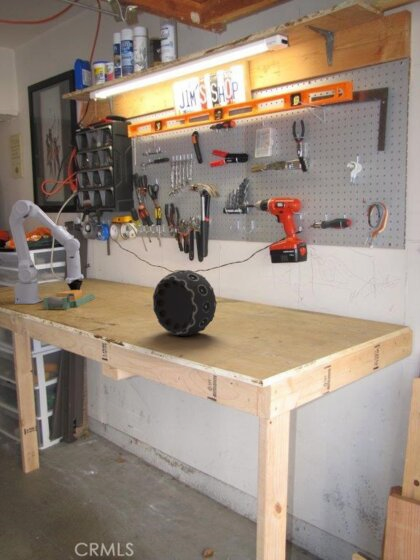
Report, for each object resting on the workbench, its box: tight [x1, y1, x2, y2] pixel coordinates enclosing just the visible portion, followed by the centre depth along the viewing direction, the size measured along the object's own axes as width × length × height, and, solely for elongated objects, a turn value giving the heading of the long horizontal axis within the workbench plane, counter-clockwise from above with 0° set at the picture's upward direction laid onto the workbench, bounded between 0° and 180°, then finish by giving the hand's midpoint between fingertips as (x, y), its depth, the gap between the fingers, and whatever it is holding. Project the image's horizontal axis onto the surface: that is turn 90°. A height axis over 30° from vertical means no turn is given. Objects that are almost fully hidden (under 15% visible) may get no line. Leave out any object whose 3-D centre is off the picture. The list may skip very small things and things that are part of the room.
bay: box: [43, 292, 95, 311], centre depth 215 cm, size 14×24×6 cm, turn 171°
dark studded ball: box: [152, 269, 218, 337], centre depth 157 cm, size 11×20×20 cm, turn 51°
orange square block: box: [55, 289, 83, 301], centre depth 217 cm, size 8×8×5 cm
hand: (75, 297), depth 223 cm, fingers closed
